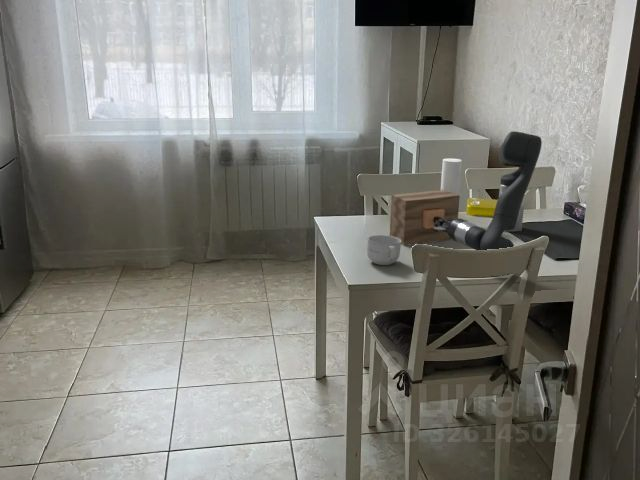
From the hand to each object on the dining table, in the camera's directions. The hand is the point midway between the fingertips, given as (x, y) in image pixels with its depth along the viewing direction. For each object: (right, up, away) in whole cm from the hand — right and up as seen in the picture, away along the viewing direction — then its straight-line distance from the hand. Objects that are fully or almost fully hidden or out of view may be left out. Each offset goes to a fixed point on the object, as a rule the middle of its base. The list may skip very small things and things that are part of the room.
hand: (435, 219), depth 218 cm
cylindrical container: (+10, -1, +29) cm, 31 cm away
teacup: (-20, -15, -18) cm, 30 cm away
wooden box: (-3, -7, +9) cm, 12 cm away
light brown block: (-2, -2, +4) cm, 5 cm away
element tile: (+29, +4, +46) cm, 54 cm away
